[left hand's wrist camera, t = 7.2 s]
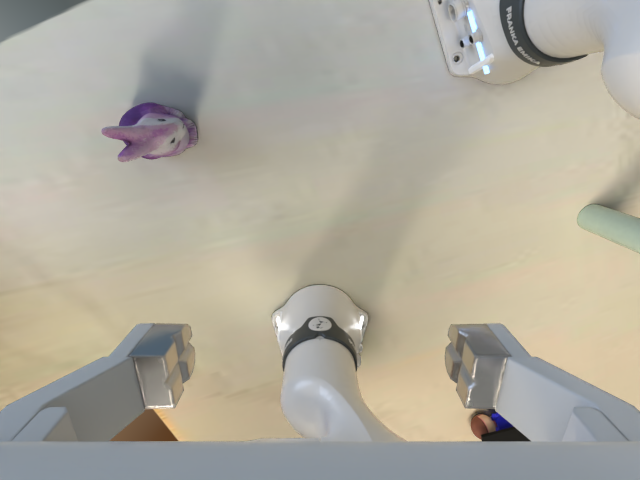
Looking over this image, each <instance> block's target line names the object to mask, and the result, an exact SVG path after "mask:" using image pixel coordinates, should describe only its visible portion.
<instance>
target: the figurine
mask: <svg viewBox="0 0 640 480" xmlns="http://www.w3.org/2000/svg"><path fill="white" fill-rule="evenodd" d="M102 134H103V135H105V136H107V137H109V138H113V139H119V140H123V141H124V143H125V144H126V145H127V146H126V147H125V148H124V149H123V150H122V151H121V153H120V154H119V155H118V160H119V161H121V162H126V161H127V162H129V161H132V160H136V159H137V158H140V157H143V158H146V159H157V158H160V157H166V156H174V155H178V154H181V153H182V152H184V151H185V149H186V148H190V147H193V146H195V145H196V144H197V141H198V139H197V130H196V126H195V124H194V122H192V121H191V120H189V119H187V118H185V116H184V114H183V113H182V112H180V111H179V110H176V109H173V108H170V107H166V106H162V105H159V104H156V103H143V104H140V105H137V106H135V107H133V108H132V109H130V110H128V111H127V112H126V113H125V114H124V115H123V116H122V118H121V120H120V123H119V126H111V127H105V128H103V129H102Z"/></svg>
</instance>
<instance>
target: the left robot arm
mask: <svg viewBox="0 0 640 480" xmlns="http://www.w3.org/2000/svg"><path fill="white" fill-rule="evenodd" d="M272 323H273V326H274V330H275V333H276V337H277V340H278V343H279V347H280V350H281V354H282V357H283V359H282V360H283V371H284V376H283V383H282V390H281V398H280V402H281V408H282V411H283V414H284V416H285V418H286V419H287V421H288V422H289V424H290V425H291V427H292V428H293V429H294V430H295V431H296V432H297V433H298V434H300V435H301V436H303V437H304V438H260V439H255V440H250V441H173V442H172V441H169V442H168V441H167V442H165V441H164V442H163V441H161V442H156V441H155V442H154V441H153V442H128V441H110V440H111V439H112V438H113V437H114V436H116V435H117V434H118V433H119V432H120V431H121V430H123V429H124V428H125V427H126V426H127V425H129V424H130V423H131V422H132V421H133V420H134V419H136V418H137V417H138V416H139V415H140V414H142V413H143V412H144V411H145V409H165V408H175V407H176V405H177V403H178V401H179V399H180V397H181V395H182V393H183V391H184V388H183V383H184V382H186V381H187V380H189V379H190V377H191V375H192V372H193V369H194V364H195V350H194V347H193V346H192V345H191V344H190V343H189V341H190V339H191V337H192V332H191V327H190V326H189V325H188V324H164V323H157V324H155V323H140V324H137V325H136V326H135V327H134V328H133V329H132V331H131V332H130V333H129V334H128V335H127V336H126V337H125V339H124V340H123V341H122V342H121V343H120V344H119V345H118V346H117V348H116V349H115V350H114V351H113V352H112V353H111V354H110V356H109V357H102V358H100V359H98V360H96V361H94V362H92V363H90V364H88V365H86V366H84V367H82V368H80V369H78V370H76V371H74V372H72V373H70V374H68V375H66V376H64V377H62V378H60V379H58V380H56V381H54V382H52V383H50V384H49V385H47V386H45V387H43V388H41V389H39V390H37V391H35V392H33V393H31V394H29V395H27V396H25V397H23V398H21V399H19V400H17V401H15V402H13V403H11V404H9V405H7V406H6V407H5V408H4V409H3V410H2V411H1V412H0V480H640V411H639V410H638V409H636V408H635V407H634V406H633V405H631V404H629V403H627V402H625V401H623V400H621V399H619V398H617V397H615V396H613V395H611V394H609V393H607V392H605V391H603V390H601V389H599V388H597V387H595V386H593V385H591V384H589V383H587V382H585V381H583V380H581V379H579V378H577V377H576V376H574V375H572V374H570V373H568V372H566V371H564V370H562V369H560V368H558V367H556V366H554V365H552V364H550V363H548V362H546V361H544V360H542V359H540V358H538V357H531V356H530V354H529V353H528V352H527V351H526V350H525V349H524V348H523V347H522V345H521V344H520V343H519V342H518V341H517V340H516V339H515V337H514V336H513V335H512V334H511V333H510V332H509V331H508V329H507V328H506V327H505V326H504V325H503V324H500V323H486V324H451V326H450V328H449V331H448V337H449V339H450V341H451V343H450V344H449V345H448V346H447V347H446V350H445V365H446V369H447V372H448V375H449V377H450V379H451V380H453V381H454V382H456V383H457V388H456V391H457V393H458V395H459V397H460V399H461V401H462V403H463V405H464V407H465V408H475V409H495V411H496V412H497V413H499V414H500V415H501V416H502V417H503V418H504V419H506V420H507V421H508V422H509V423H510V424H512V425H513V426H514V427H515V428H516V429H517V430H519V431H520V432H521V433H522V434H523V435H525V436H526V437H527V438H528V439H529V440H530V441H457V442H408V441H406V440H405V439H403V438H401V437H400V436H398V435H397V434H395V433H394V432H392V431H391V430H390V429H389V428H387V427H386V426H385V425H384V424H383V423H382V422H381V421H380V420H379V419H378V418H377V417H376V416H375V415H374V414H373V413H372V412H371V410H370V409H369V408H368V406H367V405H366V403H365V402H364V400H363V398H362V395H361V392H360V388H359V384H358V380H357V375H356V371H357V367H358V368H359V367H360V365H361V356H360V355H358V354H359V352H362V348H363V347H362V345H361V344H362V340H363V337H364V333H365V330H366V326H367V323H368V314H367V313H366V312H365V311H363V310H362V309H360V308H358V307H357V306H356V305H355V304H354V303H353V301H352V300H351V299H350V297H349V296H348V295H347V294H345V293H344V292H343V291H341V290H339V289H337V288H335V287H332V286H327V285H313V286H308V287H305V288H303V289H301V290H299V291H297V292H296V293H295V294H293V295H292V296H291V297H290V299H289V300H288V301H287V303H286V304H285V305H284V306H283V307H282V308H280V309H278V310H277V311H275V312H274V313H273V314H272Z"/></svg>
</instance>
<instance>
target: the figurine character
mask: <svg viewBox="0 0 640 480" xmlns="http://www.w3.org/2000/svg"><path fill="white" fill-rule="evenodd" d="M471 429H472V431H473V433H474V434H475V436H476V437H478V438H479V439H481V440H482V441H530V440H529V439H528V438H527V437H526V436H525V435H523V434H522V433H521V432H520V431H519V430H517V429H516V428H515V427H514V426H513V425H512V424H510V423H509V422H508V421H507V420H506V419H504V418H503V417H502V416H501V415H500V414H499V413H495V414H494V413H493V414H492V416H491V418H489V417H488V416H486V415H483V414H478V415H476V416H474V417H473V419H472V421H471Z"/></svg>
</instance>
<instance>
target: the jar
mask: <svg viewBox="0 0 640 480" xmlns="http://www.w3.org/2000/svg"><path fill="white" fill-rule="evenodd" d="M577 222H578V225H579V226H580V227H581V228H583V229H585V230H587V231H589V232H592V233H594V234H596V235H599V236H601V237H603V238H605V239H608V240H610V241H612V242H614V243H617V244H619V245H621V246H624V247H626V248H628V249H630V250H633V251H635V252H637V253H640V218H637V217H634V216H631V215H628V214H625V213H622V212H619V211H616V210H613V209H610V208H607V207H604V206H601V205H598V204H592V205H588V206H586V207H585V208H583V209H582V210H581V212H580V213H579V215H578V218H577Z"/></svg>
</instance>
